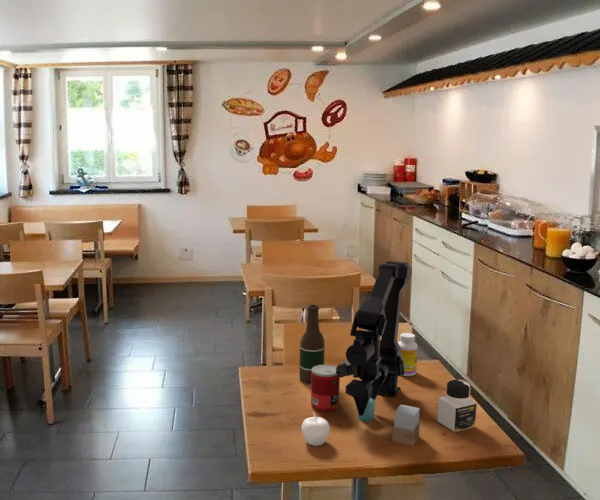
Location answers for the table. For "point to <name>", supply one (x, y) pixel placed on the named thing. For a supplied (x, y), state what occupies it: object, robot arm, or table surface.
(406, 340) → the supplement bottle
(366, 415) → the teal cylinder
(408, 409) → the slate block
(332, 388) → the canned food
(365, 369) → the robot arm
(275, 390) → the table surface
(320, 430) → the plain white apple
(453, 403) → the medicine bottle
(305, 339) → the beer bottle
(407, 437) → the walnut block
